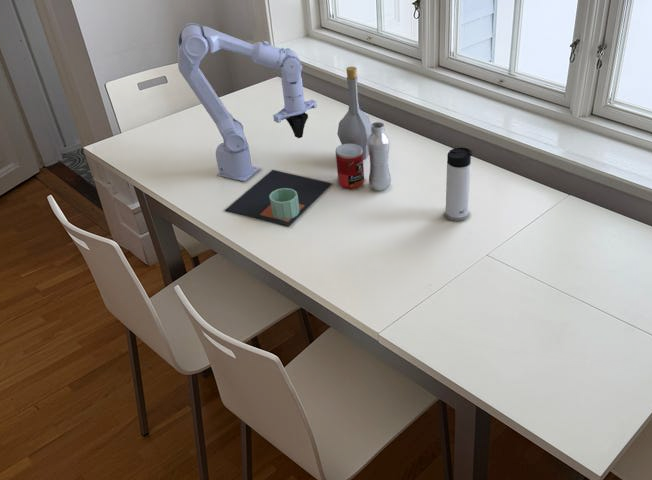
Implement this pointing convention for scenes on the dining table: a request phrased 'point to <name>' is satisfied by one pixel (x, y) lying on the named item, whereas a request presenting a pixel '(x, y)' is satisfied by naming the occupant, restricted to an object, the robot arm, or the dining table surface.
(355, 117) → the bottle
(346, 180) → the canned food
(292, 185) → the mat
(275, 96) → the dining table surface
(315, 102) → the robot arm
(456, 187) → the travel mug
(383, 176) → the silver smooth rounded piece
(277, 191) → the cup
